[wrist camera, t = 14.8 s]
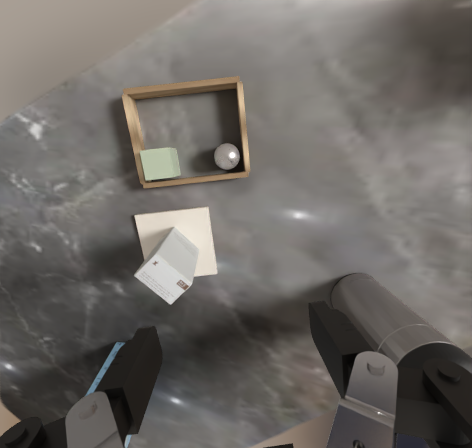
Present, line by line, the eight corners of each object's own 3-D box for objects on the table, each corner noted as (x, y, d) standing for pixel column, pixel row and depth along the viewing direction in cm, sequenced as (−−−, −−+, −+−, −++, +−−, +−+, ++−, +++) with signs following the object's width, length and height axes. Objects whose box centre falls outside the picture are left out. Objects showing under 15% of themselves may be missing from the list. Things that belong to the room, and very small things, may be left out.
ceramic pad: (217, 271, 43) (217, 273, 42) (150, 279, 43) (149, 281, 42) (208, 206, 40) (207, 207, 39) (136, 214, 40) (134, 215, 39)
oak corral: (248, 175, 39) (250, 176, 36) (147, 186, 39) (141, 188, 36) (240, 82, 35) (241, 75, 32) (129, 95, 35) (120, 89, 32)
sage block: (180, 175, 38) (174, 177, 33) (155, 178, 38) (145, 180, 33) (176, 149, 37) (168, 147, 32) (150, 152, 37) (139, 150, 32)
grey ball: (239, 167, 38) (240, 168, 34) (217, 169, 38) (216, 170, 34) (237, 143, 37) (238, 141, 34) (214, 146, 37) (212, 144, 33)
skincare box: (157, 242, 40) (128, 276, 28) (175, 224, 39) (153, 251, 28) (184, 266, 41) (168, 308, 30) (202, 249, 41) (192, 285, 29)
